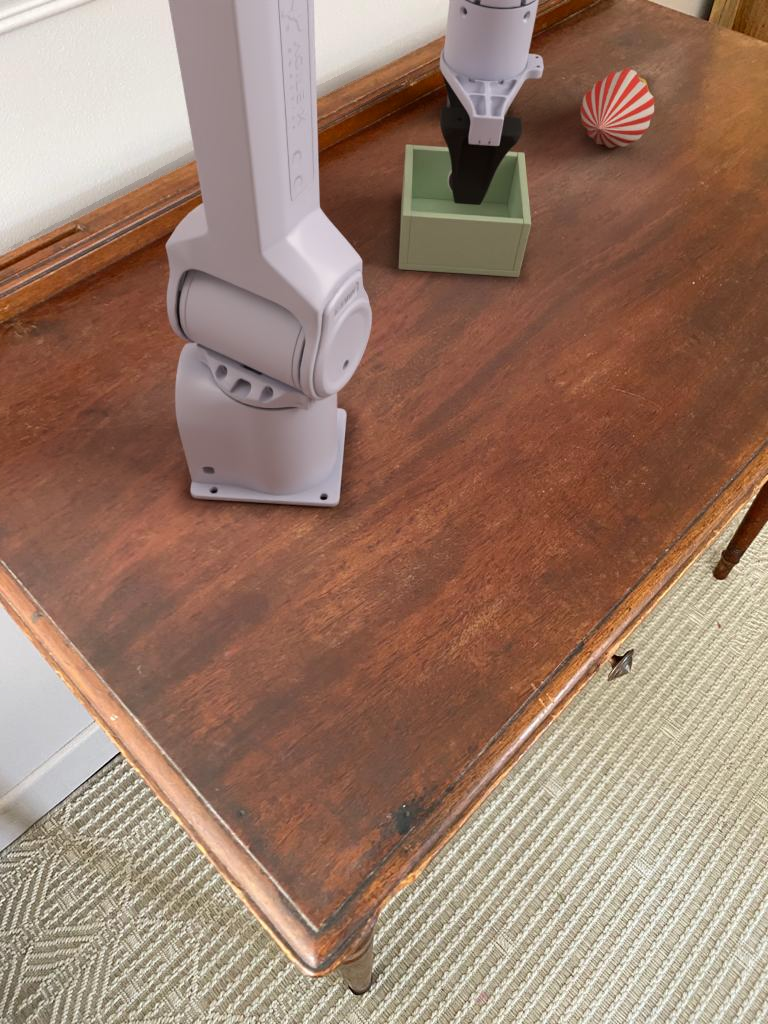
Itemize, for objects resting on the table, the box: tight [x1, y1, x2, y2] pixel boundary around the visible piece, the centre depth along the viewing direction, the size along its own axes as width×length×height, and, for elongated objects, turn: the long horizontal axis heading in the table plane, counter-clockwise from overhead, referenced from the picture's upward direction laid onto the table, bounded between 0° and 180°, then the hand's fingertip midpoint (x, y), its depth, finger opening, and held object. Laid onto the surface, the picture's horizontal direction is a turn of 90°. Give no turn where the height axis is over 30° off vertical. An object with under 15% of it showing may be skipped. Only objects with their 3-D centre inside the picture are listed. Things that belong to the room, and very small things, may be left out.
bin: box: [398, 143, 532, 278], centre depth 65 cm, size 10×9×5 cm
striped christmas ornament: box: [580, 68, 655, 149], centre depth 75 cm, size 6×6×20 cm
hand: (466, 178), depth 62 cm, fingers closed on wristwatch, 5 cm apart
